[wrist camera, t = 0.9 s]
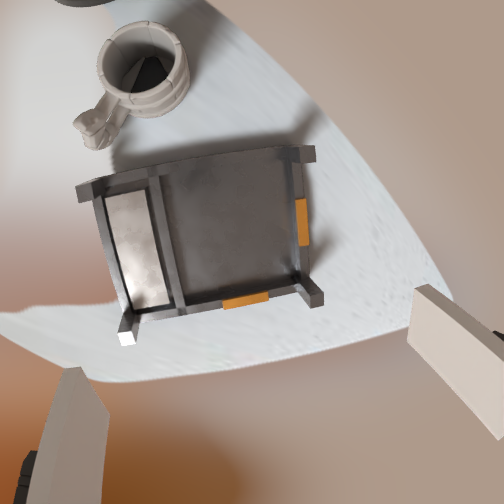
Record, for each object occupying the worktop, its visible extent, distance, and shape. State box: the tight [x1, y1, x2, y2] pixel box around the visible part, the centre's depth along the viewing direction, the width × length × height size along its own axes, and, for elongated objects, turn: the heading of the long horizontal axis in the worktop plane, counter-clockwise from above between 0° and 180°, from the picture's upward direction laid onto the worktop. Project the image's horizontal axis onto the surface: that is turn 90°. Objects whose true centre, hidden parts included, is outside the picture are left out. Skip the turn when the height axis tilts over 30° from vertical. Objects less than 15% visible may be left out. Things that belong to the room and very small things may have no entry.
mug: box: [73, 21, 190, 150], centre depth 22 cm, size 8×12×12 cm, turn 143°
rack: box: [75, 145, 324, 345], centre depth 31 cm, size 16×21×6 cm
